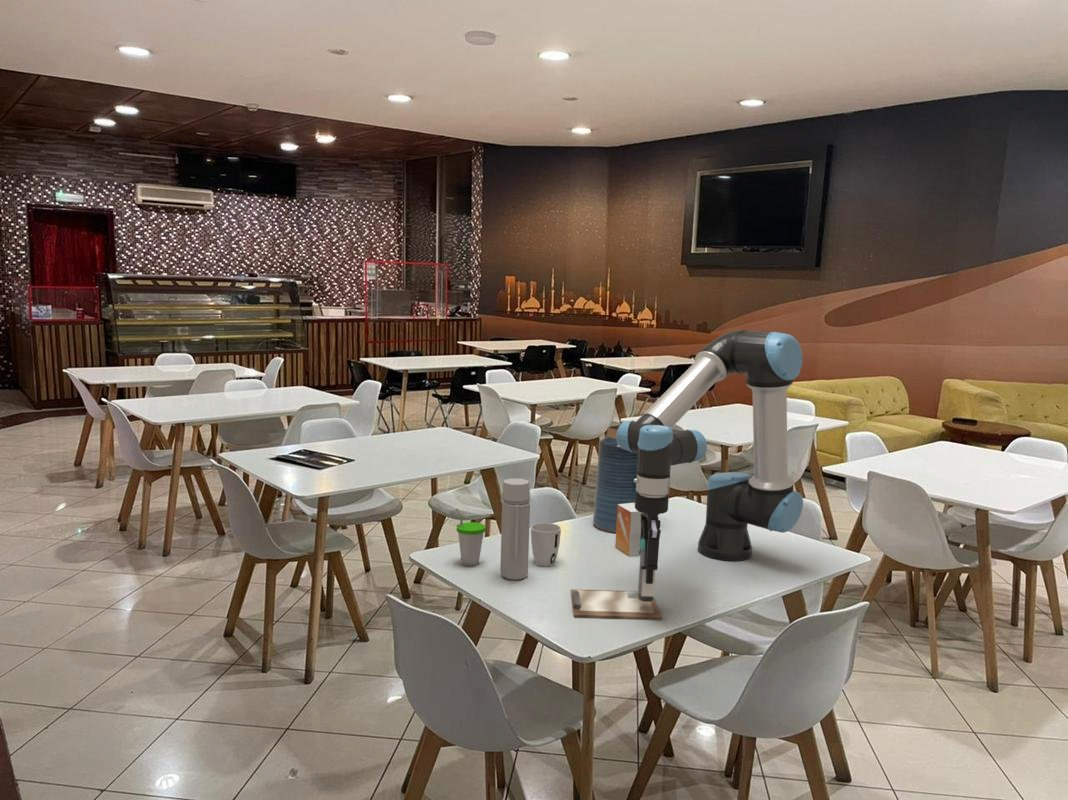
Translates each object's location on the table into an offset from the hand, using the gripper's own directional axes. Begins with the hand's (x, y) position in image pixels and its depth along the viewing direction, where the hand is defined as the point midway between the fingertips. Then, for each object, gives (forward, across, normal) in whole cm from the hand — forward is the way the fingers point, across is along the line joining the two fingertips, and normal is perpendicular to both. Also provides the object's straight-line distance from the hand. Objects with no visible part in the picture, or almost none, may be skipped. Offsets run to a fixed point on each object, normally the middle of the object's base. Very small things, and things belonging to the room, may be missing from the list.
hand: (646, 591), depth 179 cm
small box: (+5, -42, +2) cm, 43 cm away
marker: (+2, 0, 0) cm, 2 cm away
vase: (+5, -65, +1) cm, 65 cm away
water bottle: (+5, -19, -31) cm, 37 cm away
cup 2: (+5, -30, -23) cm, 38 cm away
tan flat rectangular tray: (+5, -3, -7) cm, 9 cm away
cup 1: (+5, -28, -43) cm, 52 cm away
